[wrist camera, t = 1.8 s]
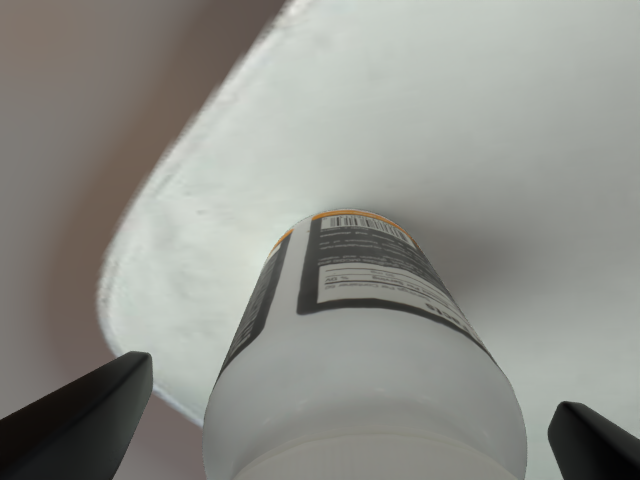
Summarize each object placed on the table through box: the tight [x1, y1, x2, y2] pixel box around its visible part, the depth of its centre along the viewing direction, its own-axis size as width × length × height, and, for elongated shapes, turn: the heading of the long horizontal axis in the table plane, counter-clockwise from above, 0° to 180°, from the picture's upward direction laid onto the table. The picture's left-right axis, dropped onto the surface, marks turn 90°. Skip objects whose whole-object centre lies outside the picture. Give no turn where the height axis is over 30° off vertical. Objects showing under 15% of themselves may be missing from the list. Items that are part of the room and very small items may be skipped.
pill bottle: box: [202, 209, 527, 480], centre depth 9 cm, size 6×6×10 cm
